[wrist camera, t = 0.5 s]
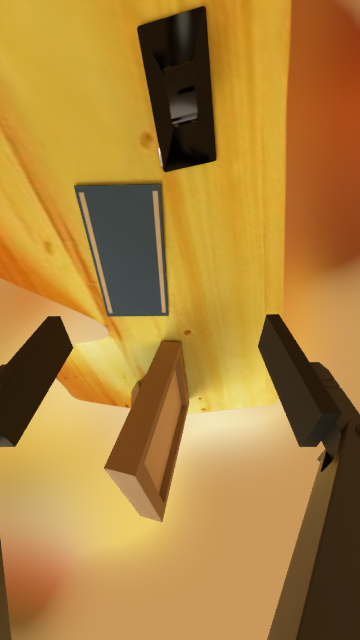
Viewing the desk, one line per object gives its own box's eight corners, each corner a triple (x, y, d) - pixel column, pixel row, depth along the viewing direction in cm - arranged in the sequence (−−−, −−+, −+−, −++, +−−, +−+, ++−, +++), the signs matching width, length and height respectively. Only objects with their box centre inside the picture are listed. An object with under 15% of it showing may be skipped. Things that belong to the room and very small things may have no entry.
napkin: (75, 185, 30) (73, 185, 30) (160, 183, 30) (160, 184, 30) (108, 315, 43) (107, 316, 43) (168, 314, 43) (168, 315, 42)
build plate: (215, 160, 29) (221, 160, 25) (162, 172, 29) (159, 174, 26) (205, 7, 21) (210, -26, 18) (134, 29, 22) (125, 2, 18)
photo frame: (180, 339, 47) (180, 474, 26) (189, 399, 59) (193, 521, 39) (114, 344, 48) (63, 478, 27) (136, 402, 60) (113, 523, 40)
